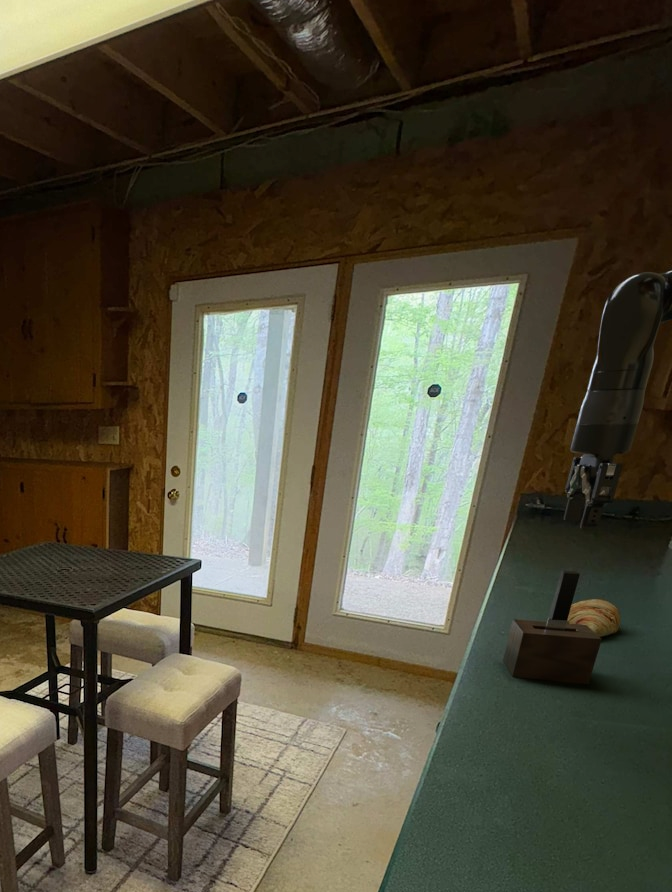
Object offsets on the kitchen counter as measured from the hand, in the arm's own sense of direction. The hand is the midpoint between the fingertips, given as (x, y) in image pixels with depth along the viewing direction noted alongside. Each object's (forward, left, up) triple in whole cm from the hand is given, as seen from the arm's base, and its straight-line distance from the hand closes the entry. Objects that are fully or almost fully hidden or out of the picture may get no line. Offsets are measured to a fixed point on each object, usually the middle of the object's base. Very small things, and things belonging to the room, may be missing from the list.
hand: (579, 524), depth 104 cm
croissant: (-19, -41, -30) cm, 55 cm away
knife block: (-3, -9, -30) cm, 32 cm away
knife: (-3, -9, -30) cm, 32 cm away
